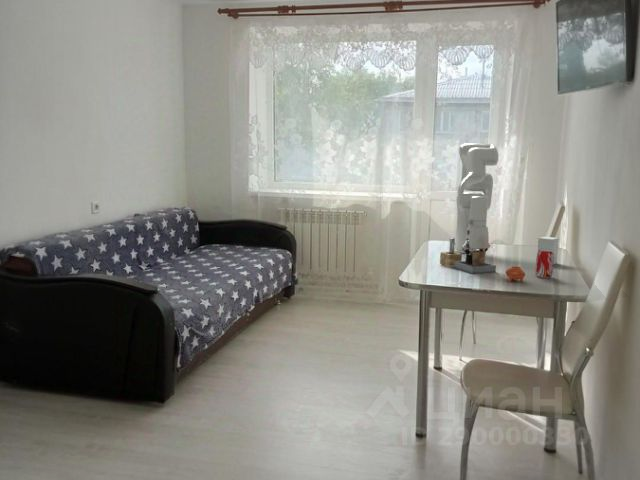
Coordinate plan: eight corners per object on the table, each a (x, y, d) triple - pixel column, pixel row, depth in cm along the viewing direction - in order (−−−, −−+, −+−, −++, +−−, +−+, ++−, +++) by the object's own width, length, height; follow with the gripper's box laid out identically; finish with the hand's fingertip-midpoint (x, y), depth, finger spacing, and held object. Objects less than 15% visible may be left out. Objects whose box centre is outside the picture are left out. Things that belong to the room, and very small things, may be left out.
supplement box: (557, 263, 287) (559, 237, 285) (551, 265, 282) (553, 239, 280) (542, 261, 292) (544, 236, 290) (536, 263, 287) (538, 237, 285)
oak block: (439, 264, 279) (440, 252, 278) (451, 263, 282) (452, 251, 281) (448, 267, 272) (449, 254, 271) (461, 266, 275) (461, 254, 274)
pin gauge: (450, 264, 276) (452, 238, 274) (447, 263, 277) (449, 238, 276) (454, 263, 276) (455, 238, 274) (451, 263, 278) (452, 237, 276)
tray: (454, 268, 271) (454, 261, 270) (476, 266, 276) (477, 260, 275) (472, 273, 259) (472, 267, 258) (495, 271, 264) (496, 265, 264)
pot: (500, 278, 251) (505, 262, 250) (517, 282, 252) (522, 267, 251) (507, 281, 243) (512, 266, 242) (525, 286, 244) (530, 270, 243)
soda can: (544, 279, 252) (546, 251, 250) (531, 275, 258) (533, 248, 256) (555, 277, 255) (558, 250, 253) (542, 274, 261) (545, 247, 259)
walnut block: (473, 265, 263) (474, 252, 262) (465, 263, 269) (466, 250, 268) (484, 264, 266) (485, 251, 265) (475, 262, 271) (476, 249, 270)
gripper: (467, 225, 257) (464, 265, 260) (498, 223, 264) (495, 263, 267) (456, 223, 264) (454, 262, 267) (487, 221, 271) (484, 260, 274)
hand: (475, 262), depth 267 cm, fingers closed on walnut block, 5 cm apart
